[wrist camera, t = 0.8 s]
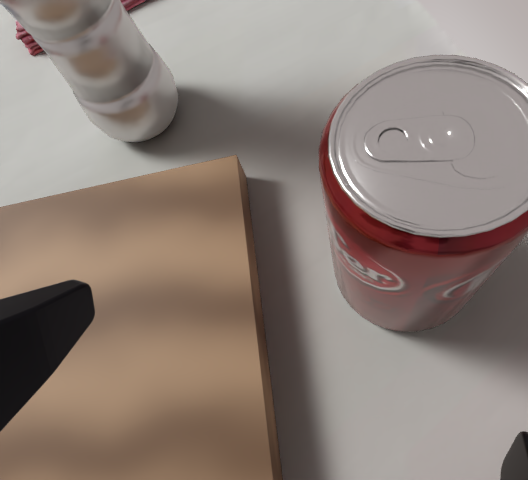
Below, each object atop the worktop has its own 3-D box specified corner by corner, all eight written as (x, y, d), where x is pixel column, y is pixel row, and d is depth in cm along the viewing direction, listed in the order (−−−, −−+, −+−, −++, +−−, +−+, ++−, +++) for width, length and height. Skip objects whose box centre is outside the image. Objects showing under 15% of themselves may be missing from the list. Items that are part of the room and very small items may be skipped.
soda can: (469, 211, 24) (558, 38, 14) (476, 340, 22) (595, 254, 11) (338, 208, 26) (325, 52, 15) (330, 328, 23) (306, 242, 12)
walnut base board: (284, 492, 21) (275, 500, 18) (-48, 530, 23) (-91, 541, 21) (246, 176, 28) (236, 154, 26) (-1, 229, 30) (-29, 213, 28)
